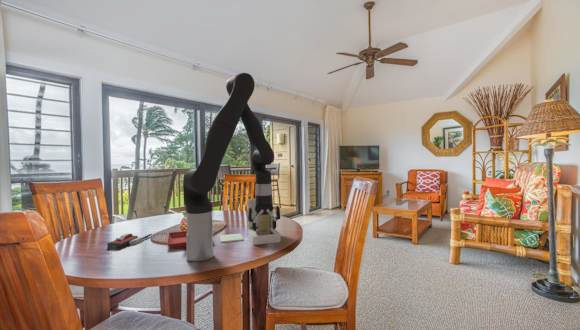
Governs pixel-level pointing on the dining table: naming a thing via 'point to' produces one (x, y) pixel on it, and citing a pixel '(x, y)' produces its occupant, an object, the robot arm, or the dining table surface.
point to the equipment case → (254, 235)
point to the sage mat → (231, 238)
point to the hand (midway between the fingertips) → (264, 229)
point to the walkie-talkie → (125, 241)
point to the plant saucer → (177, 240)
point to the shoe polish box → (264, 224)
